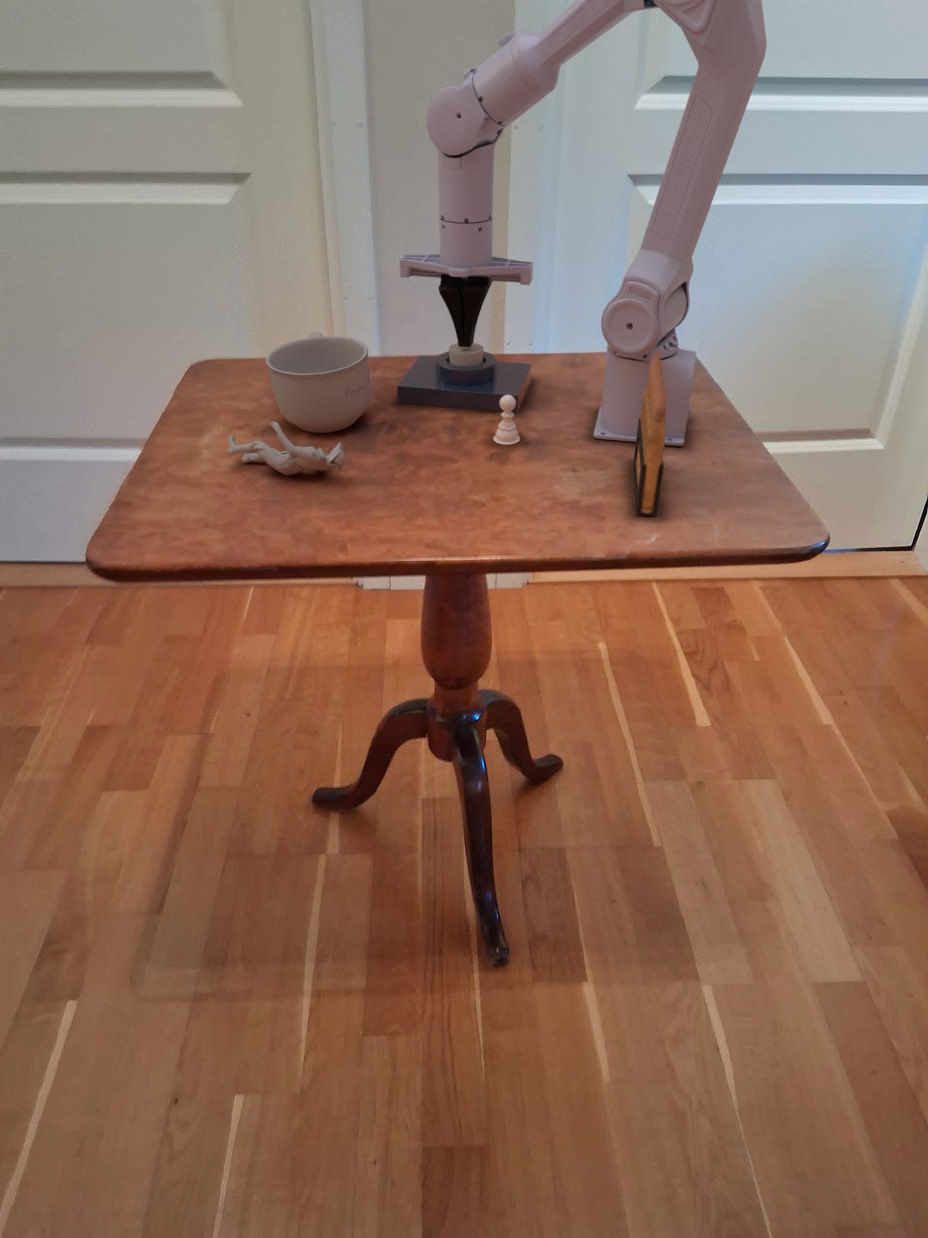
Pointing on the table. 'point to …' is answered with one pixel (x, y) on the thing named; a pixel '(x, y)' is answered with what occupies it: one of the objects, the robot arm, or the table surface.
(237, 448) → the soldier figure
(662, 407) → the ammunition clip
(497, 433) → the chess pawn
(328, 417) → the teacup
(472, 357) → the pale grey cylinder
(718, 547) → the table surface
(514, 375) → the dark ring socket base
